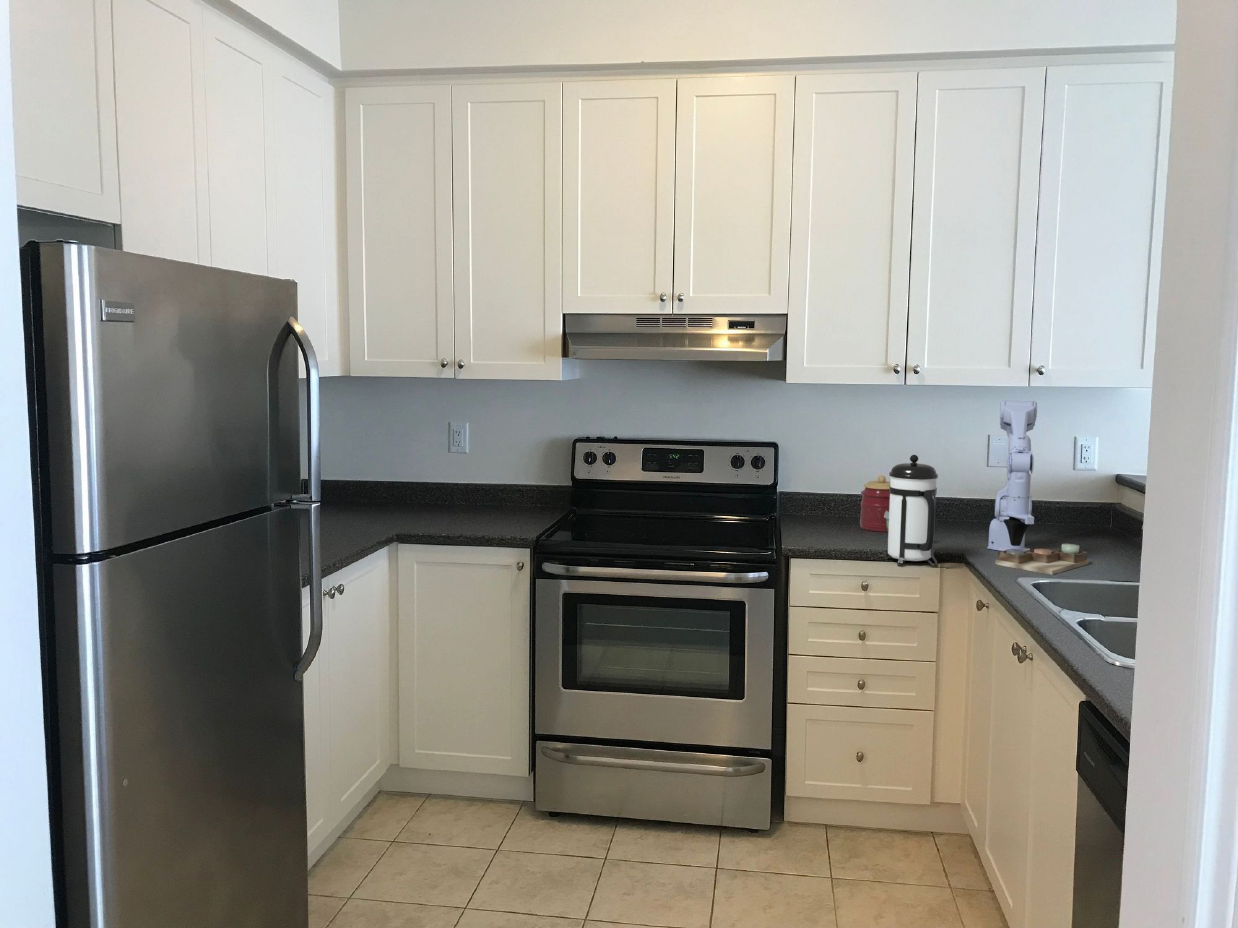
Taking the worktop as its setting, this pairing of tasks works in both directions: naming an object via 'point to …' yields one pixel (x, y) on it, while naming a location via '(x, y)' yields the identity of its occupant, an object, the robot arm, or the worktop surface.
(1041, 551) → the terracotta button
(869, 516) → the canister
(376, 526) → the worktop surface
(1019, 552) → the charcoal button
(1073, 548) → the sage button
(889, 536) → the coffee press
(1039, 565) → the button panel
